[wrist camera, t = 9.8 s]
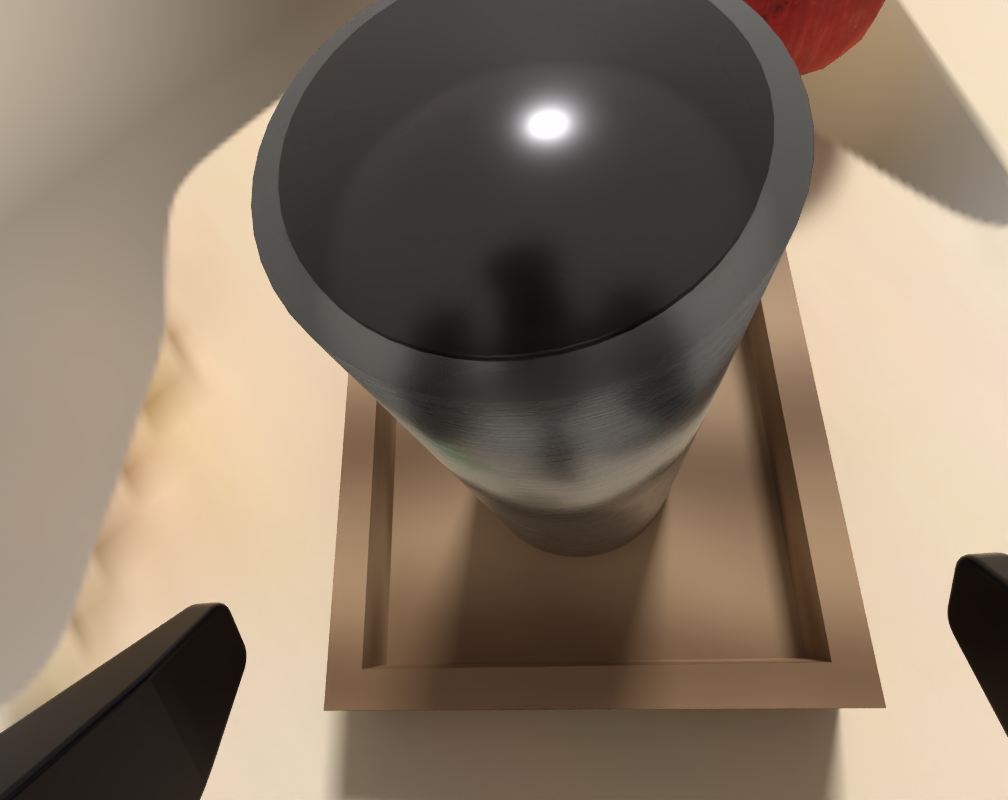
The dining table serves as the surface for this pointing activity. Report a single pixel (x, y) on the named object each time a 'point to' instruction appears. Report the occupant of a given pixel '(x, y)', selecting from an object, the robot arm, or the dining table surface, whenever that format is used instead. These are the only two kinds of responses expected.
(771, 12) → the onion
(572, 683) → the tray
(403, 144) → the tin
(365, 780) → the dining table surface
